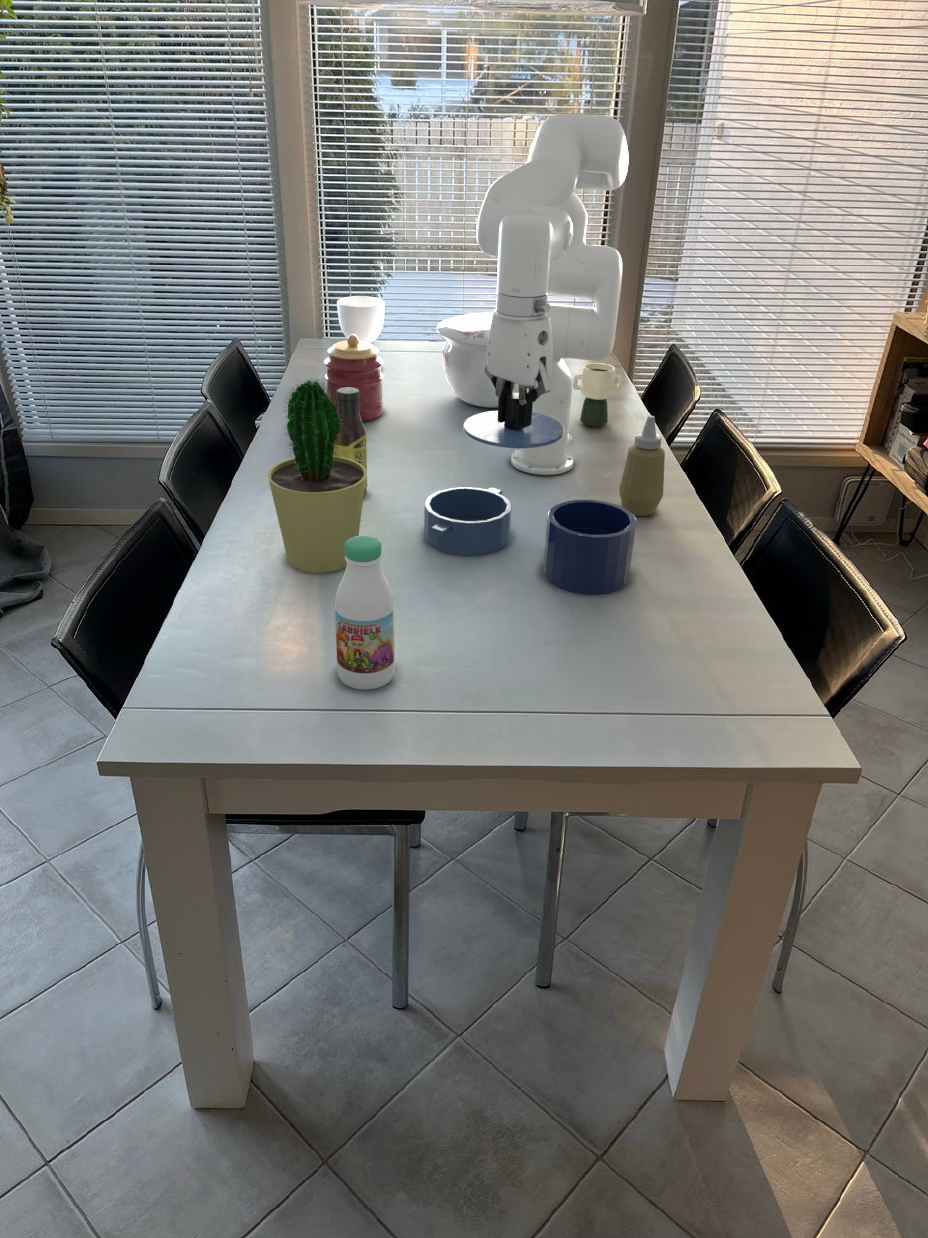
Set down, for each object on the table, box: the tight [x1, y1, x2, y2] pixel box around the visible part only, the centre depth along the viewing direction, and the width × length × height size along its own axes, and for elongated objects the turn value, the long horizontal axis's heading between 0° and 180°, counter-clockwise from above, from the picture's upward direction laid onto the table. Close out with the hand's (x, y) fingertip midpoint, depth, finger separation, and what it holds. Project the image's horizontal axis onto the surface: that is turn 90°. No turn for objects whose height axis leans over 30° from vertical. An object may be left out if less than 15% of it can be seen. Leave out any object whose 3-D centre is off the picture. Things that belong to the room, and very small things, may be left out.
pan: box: [423, 486, 513, 556], centre depth 166 cm, size 15×20×6 cm
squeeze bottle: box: [618, 415, 666, 517], centre depth 174 cm, size 8×8×18 cm
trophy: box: [572, 362, 623, 427], centre depth 214 cm, size 11×7×13 cm, turn 95°
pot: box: [542, 499, 637, 595], centre depth 154 cm, size 14×14×10 cm
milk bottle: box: [334, 535, 396, 691], centre depth 125 cm, size 8×8×20 cm
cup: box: [336, 295, 385, 344], centre depth 243 cm, size 12×12×17 cm
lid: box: [463, 393, 564, 449], centre depth 151 cm, size 16×16×6 cm
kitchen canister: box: [323, 335, 385, 422], centre depth 215 cm, size 13×13×18 cm
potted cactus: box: [267, 378, 368, 574], centre depth 151 cm, size 15×15×30 cm
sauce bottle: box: [333, 387, 368, 497], centre depth 176 cm, size 7×6×20 cm
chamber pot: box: [435, 312, 519, 409], centre depth 225 cm, size 28×28×21 cm
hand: (514, 422), depth 152 cm, fingers closed on lid, 3 cm apart
